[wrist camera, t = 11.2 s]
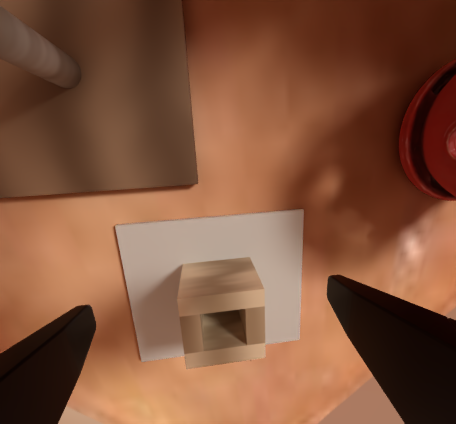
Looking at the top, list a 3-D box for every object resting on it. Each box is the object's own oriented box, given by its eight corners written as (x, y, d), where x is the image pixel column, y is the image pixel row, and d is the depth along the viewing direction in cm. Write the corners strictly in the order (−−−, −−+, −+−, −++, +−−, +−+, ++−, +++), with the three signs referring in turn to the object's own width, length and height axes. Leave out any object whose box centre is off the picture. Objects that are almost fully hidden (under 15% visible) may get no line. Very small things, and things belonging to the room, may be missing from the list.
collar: (249, 256, 21) (264, 288, 16) (251, 313, 22) (265, 357, 17) (182, 263, 20) (177, 299, 15) (189, 321, 22) (186, 369, 17)
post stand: (175, -67, 15) (155, -244, 8) (198, 182, 19) (196, 198, 12) (-107, -76, 13) (-414, -303, 7) (-14, 197, 17) (-145, 225, 11)
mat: (302, 208, 20) (303, 209, 20) (297, 336, 24) (299, 339, 24) (116, 224, 19) (115, 226, 19) (142, 358, 23) (141, 362, 22)
